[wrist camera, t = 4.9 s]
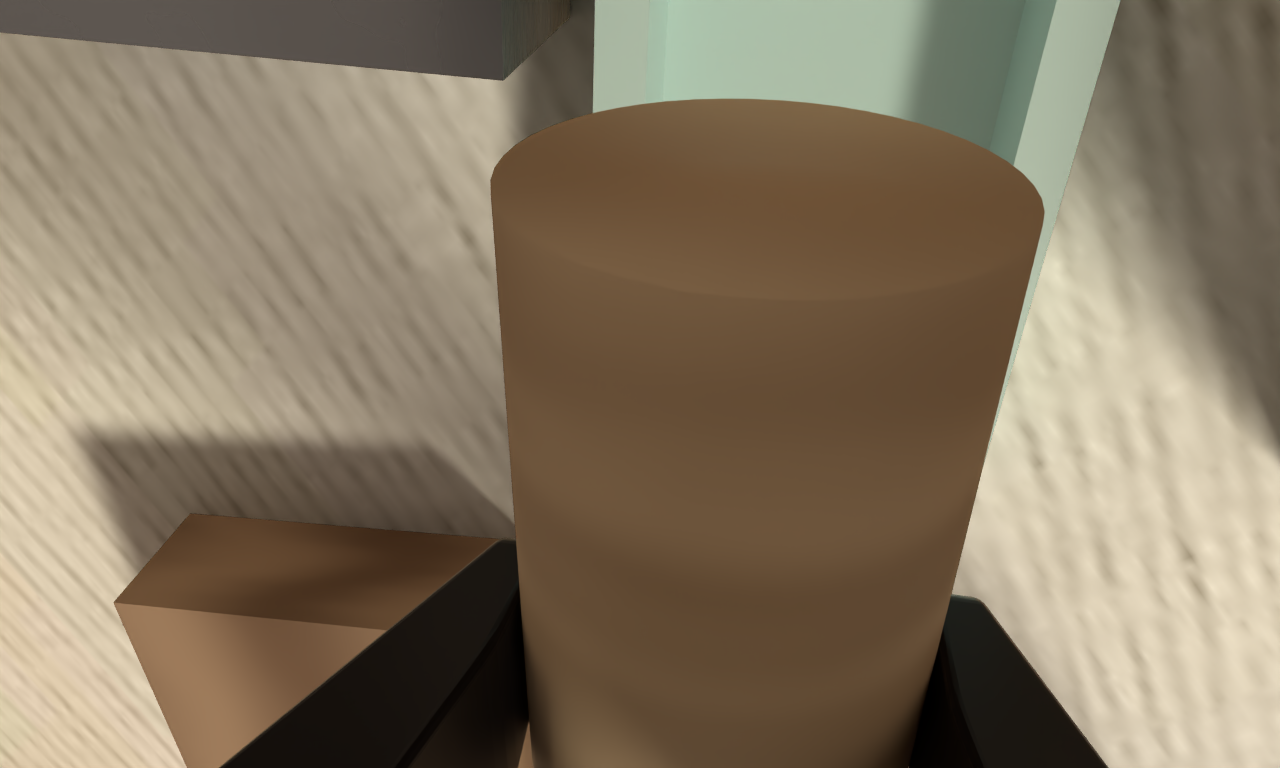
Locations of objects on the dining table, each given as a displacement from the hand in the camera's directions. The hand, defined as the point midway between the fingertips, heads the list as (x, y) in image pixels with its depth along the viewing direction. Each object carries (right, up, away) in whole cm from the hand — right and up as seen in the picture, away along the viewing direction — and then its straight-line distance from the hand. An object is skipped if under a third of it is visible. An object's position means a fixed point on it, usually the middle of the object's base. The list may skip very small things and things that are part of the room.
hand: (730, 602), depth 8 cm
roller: (0, +1, +1) cm, 1 cm away
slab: (-8, -4, +18) cm, 20 cm away
